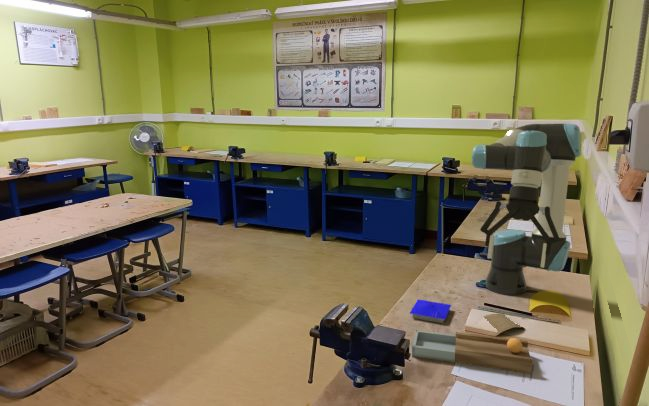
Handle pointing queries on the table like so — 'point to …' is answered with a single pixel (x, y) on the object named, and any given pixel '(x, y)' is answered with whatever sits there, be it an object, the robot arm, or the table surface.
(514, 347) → the ball
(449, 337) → the tray
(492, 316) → the brown curved sheet
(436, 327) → the table surface
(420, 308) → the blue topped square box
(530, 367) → the chute
